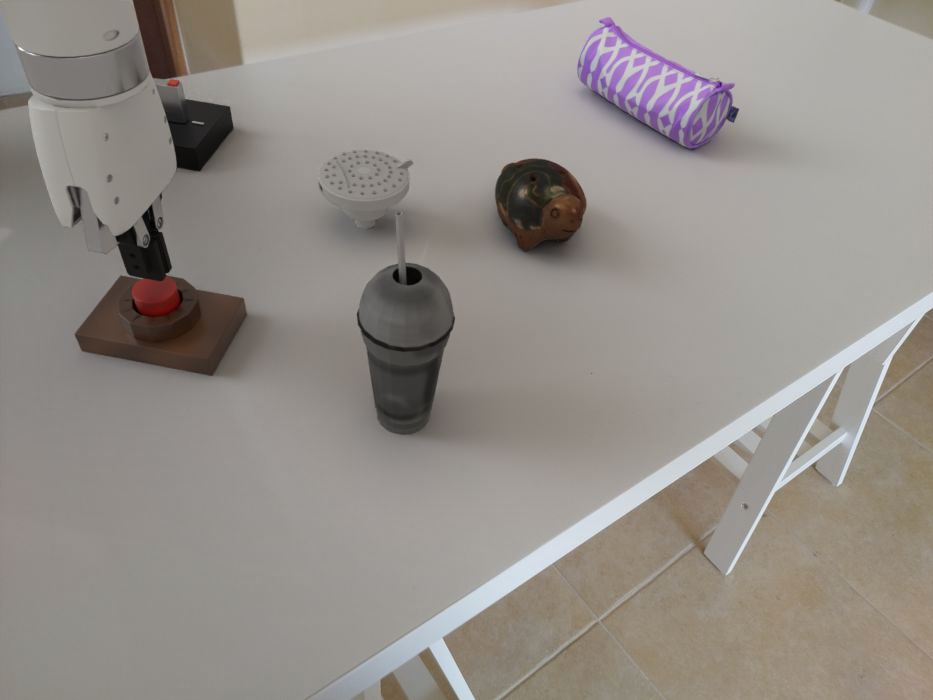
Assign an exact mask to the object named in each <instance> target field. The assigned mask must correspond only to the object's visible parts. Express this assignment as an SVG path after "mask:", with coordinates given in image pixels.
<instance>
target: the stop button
mask: <svg viewBox="0 0 933 700" xmlns="http://www.w3.org/2000/svg"><path fill="white" fill-rule="evenodd" d="M167 276H168V275H167ZM167 276H166V277H165V279H164V280H163V281H156V280H150V279H144V278H140V279H141V280H140V281H138V282H137V283H136V284H135V285H134V287H133V289H132V295H133V298H134V301H135V304H136V307H137V310H138V311H139V312H140V313H141V314H142V315H144V316H148V317H158V316H164V315H168V314H170V313H171V312H173V311H175V310H176V309H177V308H178V306H179V304H180V297H179V293H178V290H177V286H176V283H175V281H174V280H173V279H171V278H169V277H167Z"/></svg>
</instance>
